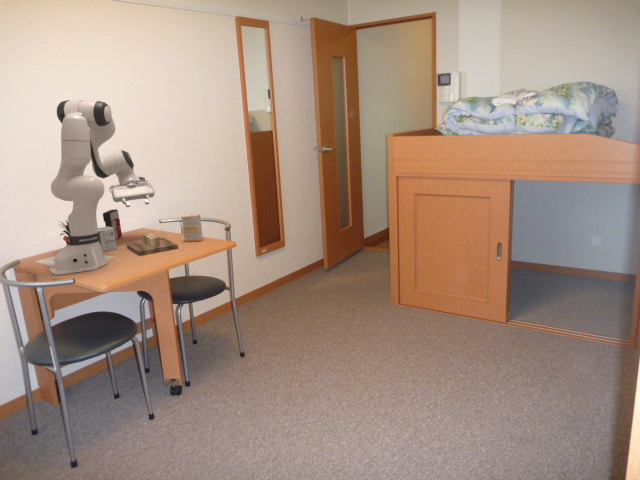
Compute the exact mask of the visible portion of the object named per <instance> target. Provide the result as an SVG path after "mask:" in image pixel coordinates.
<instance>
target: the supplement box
mask: <svg viewBox="0 0 640 480" xmlns="http://www.w3.org/2000/svg"><path fill="white" fill-rule="evenodd" d="M181 222H182V223H181V224H182V231H183V238H184V242H185V243H186V242H190V243H191V242H201V241H203V240H204V238H203V237H204V236H203V231H202V230H203V229H202V221H201V214H200V213H196V214H195V213H192V214H191V213H190V214H183V215H182V216H181Z"/></svg>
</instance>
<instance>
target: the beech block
mask: <svg viewBox="0 0 640 480" xmlns="http://www.w3.org/2000/svg"><path fill="white" fill-rule="evenodd" d="M159 238H160V236H157V235H155V234H153V233H145V234H142V241H143V243H145V244H147V245H149V246H151V247H155V246H160V240H159Z"/></svg>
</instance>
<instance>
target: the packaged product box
mask: <svg viewBox="0 0 640 480" xmlns="http://www.w3.org/2000/svg"><path fill="white" fill-rule="evenodd" d="M102 218H103V222H104V225H105V227H107V226H109V227H113V228H114V233H115V240H118V239H120V238H122V237H123V234H122V227H121V226H122V225H121V220H120V216H119V210H118V208H116V209H110V210H107V211H105V212H103V213H102Z"/></svg>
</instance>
